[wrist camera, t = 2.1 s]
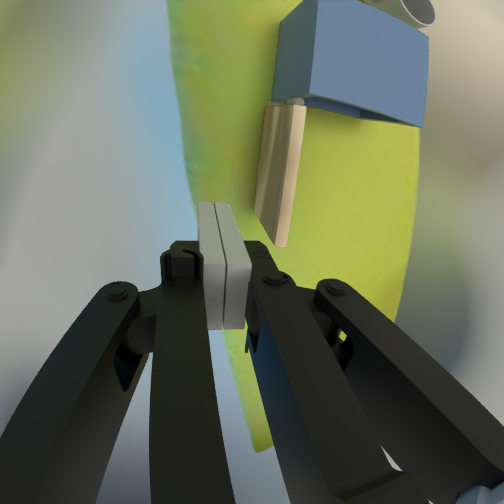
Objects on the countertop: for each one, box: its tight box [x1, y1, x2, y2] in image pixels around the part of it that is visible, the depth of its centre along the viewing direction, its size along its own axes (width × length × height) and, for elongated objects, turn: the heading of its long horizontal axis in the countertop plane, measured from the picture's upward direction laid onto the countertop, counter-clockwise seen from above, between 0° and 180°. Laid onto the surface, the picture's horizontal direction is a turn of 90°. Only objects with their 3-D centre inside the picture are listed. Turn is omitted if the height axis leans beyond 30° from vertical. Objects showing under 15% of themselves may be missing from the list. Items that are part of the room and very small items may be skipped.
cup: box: [363, 0, 436, 29], centre depth 22 cm, size 7×10×9 cm
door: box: [254, 98, 307, 247], centre depth 30 cm, size 1×15×11 cm, turn 173°
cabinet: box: [271, 0, 429, 128], centre depth 25 cm, size 12×14×13 cm
